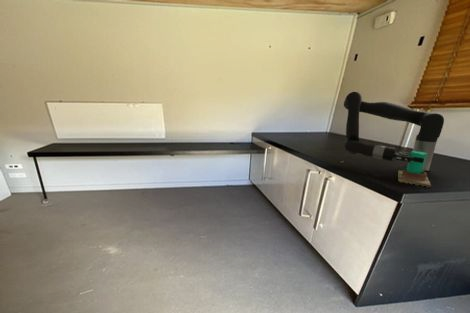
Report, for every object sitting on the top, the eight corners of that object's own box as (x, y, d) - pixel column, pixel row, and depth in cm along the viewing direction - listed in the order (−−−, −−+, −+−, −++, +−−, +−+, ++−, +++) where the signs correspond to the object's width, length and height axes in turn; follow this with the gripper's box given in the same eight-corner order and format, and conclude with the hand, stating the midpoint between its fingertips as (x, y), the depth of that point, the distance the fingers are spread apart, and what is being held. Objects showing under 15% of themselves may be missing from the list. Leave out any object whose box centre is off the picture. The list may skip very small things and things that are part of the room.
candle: (405, 171, 106) (411, 149, 103) (407, 169, 110) (413, 147, 107) (420, 174, 102) (427, 151, 98) (421, 172, 106) (428, 149, 102)
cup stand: (398, 172, 117) (399, 165, 116) (426, 177, 110) (428, 169, 109) (398, 181, 103) (400, 173, 102) (430, 187, 96) (432, 179, 95)
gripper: (382, 148, 108) (424, 154, 96) (388, 144, 118) (428, 150, 106) (378, 161, 110) (420, 169, 98) (385, 157, 120) (424, 164, 108)
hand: (424, 159), depth 102 cm, fingers closed on candle, 5 cm apart
